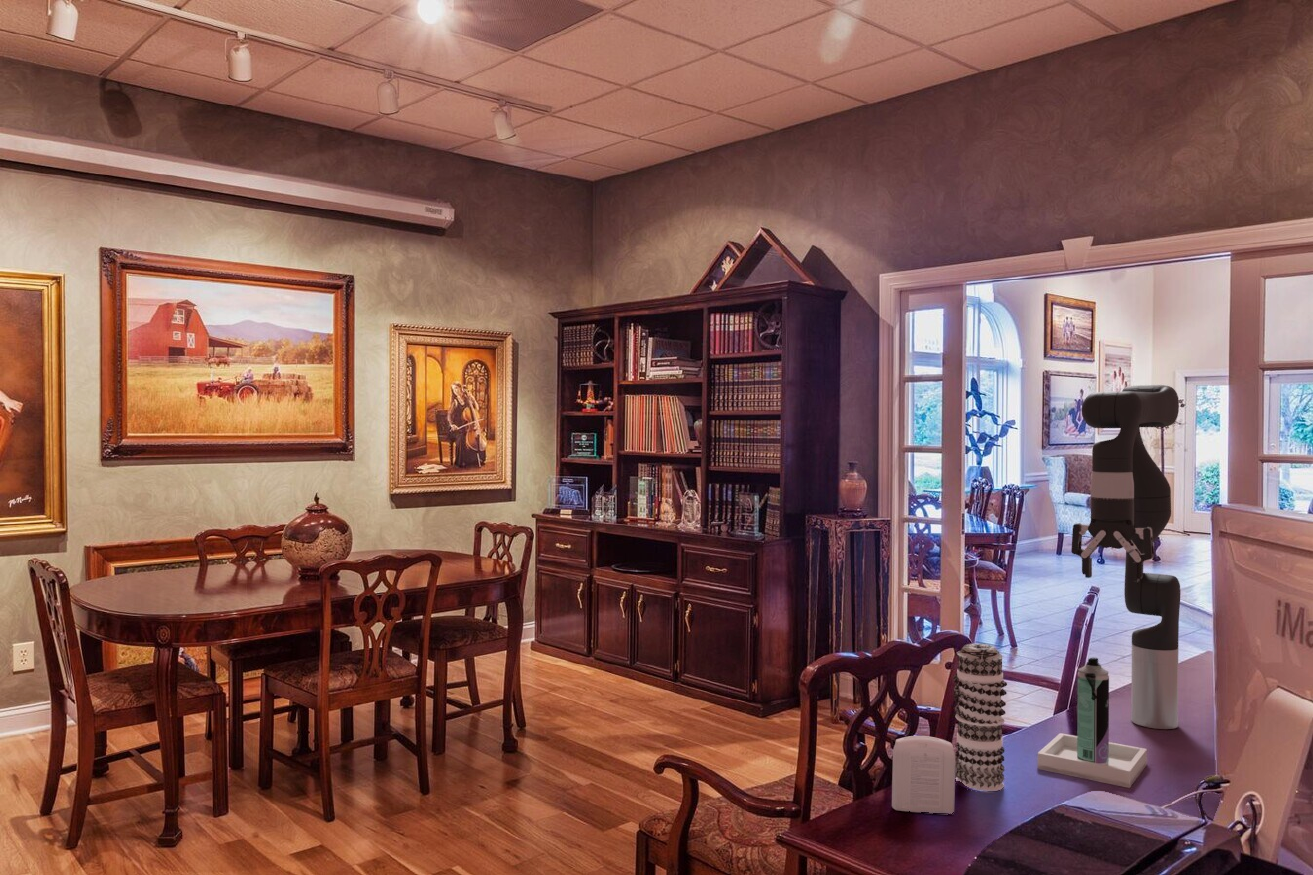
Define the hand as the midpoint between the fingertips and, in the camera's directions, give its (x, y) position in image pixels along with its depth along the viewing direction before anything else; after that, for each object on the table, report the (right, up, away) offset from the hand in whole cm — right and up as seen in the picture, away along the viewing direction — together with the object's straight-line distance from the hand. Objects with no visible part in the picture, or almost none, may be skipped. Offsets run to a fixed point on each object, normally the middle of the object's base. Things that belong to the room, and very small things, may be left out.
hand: (1111, 579), depth 183 cm
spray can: (-4, -35, -1) cm, 35 cm away
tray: (-4, -36, -1) cm, 36 cm away
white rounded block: (-43, -36, -23) cm, 60 cm away
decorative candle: (-29, -36, -11) cm, 47 cm away
